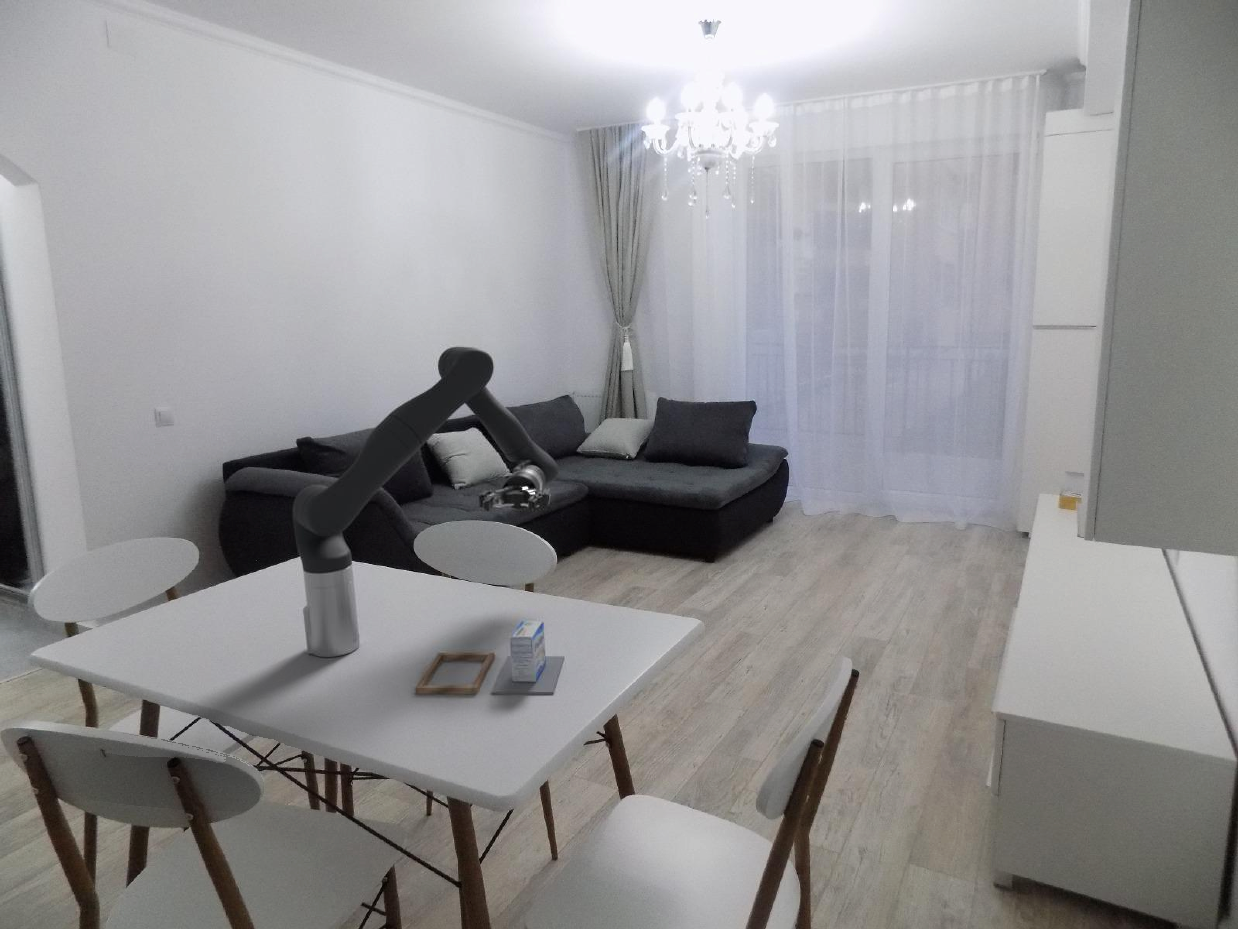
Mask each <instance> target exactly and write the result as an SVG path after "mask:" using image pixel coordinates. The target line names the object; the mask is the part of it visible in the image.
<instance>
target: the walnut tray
mask: <svg viewBox="0 0 1238 929" xmlns="http://www.w3.org/2000/svg"><path fill="white" fill-rule="evenodd" d="M495 653H496V652H438V653H437V654H436V656H435V658H433V660H432V661H431V663H430V665H429V666H428V668H427V670H425V672H424V673H423V675H422V677H421V678H420V680H419V681H418V682H417V684H416V685H415V687H414V693H415V695H478V693H479V691H480V690H481V687H482V685H483V683H484V681H485V679H486V677H487V675H488V673H489V671H490V669H491V668H492V665H493V663H494V661H495V660H496V654H495ZM445 661H449V662H450V661H451V662H452V661H454V662H458V661H459V662H462V661H471V662H472V661H473V662H475V661H482V662H483V661H484V662H483V664H482V666H481V668H480V670H479V672H478V674H477V675H476V677H475V679H474V681H473V684H472V685H471V684H470V685H469V684H467V685H466V684H465V685H463V684H460V685H459V684H458V685H457V684H455V685H453V684H452V685H451V684H448V685H447V684H446V685H445V684H443V685H441V684H440V685H439V684H438V685H437V684H435V685H432V684H431V685H429V683H430V682H431V679H432V678H433V676H434V675H435V673H436V672H437V670H438V669H439V666H441V664H442V662H445Z"/></svg>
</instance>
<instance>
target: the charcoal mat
mask: <svg viewBox="0 0 1238 929" xmlns="http://www.w3.org/2000/svg"><path fill="white" fill-rule="evenodd" d="M545 656H546V664H545V666H544V668H543V670H542V672H541V673H540V675H539V677H538V679H537V681H536V682H515V681H513V678H512V665H511V655H509V656H507V657H506V659H505V662H504V663H503V665H502V668H501V670H500V672H499V674H498V676H497V678H496V680H495V683H494V685H493V687H492V689H491V691H490V694H491V695H554V694H555V690H556V687H557V685H558V681H559V677H560V674H561V671H562V668H563V663H564V660H565V656H563V655H561V656H560V655H556V656H555V655H554V656H553V655H552V656H550V655H545Z"/></svg>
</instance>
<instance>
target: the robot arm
mask: <svg viewBox="0 0 1238 929" xmlns="http://www.w3.org/2000/svg"><path fill="white" fill-rule="evenodd" d="M494 368H495V366H494V360H493V358H492V356H491V355H490V354H489V353H488V352H487V351H486V350H484V349H481V348H478V347H473V346H471V347H470V346H452V347H449V348H447V349H445V350H444V351H443V352H442V353H441V354H440V356H439V359H438V362H437V369H438V374H439V377H440V379H439V381H437V382H436V383H435V384H434V385H433V386H432V387H430V388H429V389H427V390H425V391H424V392H422V393H419V395H416V396H415V397H413V398H411V399H409V400H408V401H405V402H403V404H401V405H398V407H397V408H395V409H393V410H392V411H391V412H390V413H389V414H388V415H387V416H386V417H384V418H383V420H382V421H381V422H380V423H378V424H377V425H376V427H375V428H373V430H372V431H371V432H370V434H369V435H368V436H367V438H366V440H365V442H364V444H363V446H362V448H361V449H360V452H359V454H358V456H357V458H356V459H355V460H354V462H353V464H352V465H350V467H349V468H348V470H346V471H345V472H344V473H343V474H342V475H340V477H338V479H337V480H335V481H334V482H333V483H332V484H331V485H329V486H326V485H322V484H312V485H309V486H307V487H305V488H303V489H301V490H300V491H299V492H298V493H297V495H296V497H295V499H294V501H293V505H292V521H293V522H292V523H293V529H294V537H295V543H296V548H297V549H296V550H297V552H298V556H299V557H300V560H301V563H302V572H303V580H304V581H303V582H304V590H305V597H306V598H305V601H306V605H305V606H304V607H303V609H302V612H303V614H302V615H303V624H304V632H305V641H306V650H307V654H308V655H314V656H316V657H322V658H329V657H330V658H332V657H338V656H344V655H346V654H350V653H352V652H354V651H356V650H357V649H359V647H360V633H359V622H358V611H357V600H356V599H357V598H356V590H355V580H354V571H353V570H354V569H353V559H352V558H353V557H352V553H351V549H350V548H349V546H348V544H347V543H346V541H345V538H344V534H343V531H345V530H346V529H347V528H348V527H349V526H350V525H351V524H352V523H353V522H354V520H355V519H356V518H357V517H358V515H359V514H360V513H361V511H362V510H363V509H364V507H366V506H367V504H368V503H369V501H370V500H371V499H372V498H373V497H374V495H375V494H376V493H377V492H378V491H379V490H380V489H381V488H382V487H383V485H385V484H386V482H388V481H389V480H390V479H391V478H392V477H393V476H394V475H395V474H396V473H397V471H399V469H401V468H402V466H403V465H405V464H406V463H407V462H408V461H409V460H410V459H411V458H413V456H414V455H415V454H416V453H417V452H418V451H419V449H421V448H422V447H423V446H424V444H425V443H426V442H428V440H429V439H430V438H432V436H433V435H434V434H435V433H436V432H437V431H438V430H439V429H440V428H441V427H442V426H443V425H444V424H445V423H446V421H447V420H449V418H450V417H451V416H453V414H454V413H456V412H457V410H459V409H460V408H461V407H462V406H463V405H464V404H465V405H466V406H467V408H469V410H470V411H471V412H472V414H474V415H475V417H477V420H479V421H480V423H481V424H482V425H483V426H484V428H485V429H486V430H487V432H488V433H489V435H491V437H492V439H493V440H494V441H495V443H496V444H497V446H498V448H499V449H500V450H501V452H502V453H503V454H504V456H505V457H506V459H507V460H508V461H510V462H514V463H516V462H521V463H520V464H518V465H517V466H515V467H514V468H513V470H512V474H511V475H510V477H509V478H507V480H506V481H505V482H504V483H503V485H502V489H497V490H495V491H494V492H493V490H492V489H490V488H487V489H484V490H483V491H482V492H481V493H479V494H478V503H479V504H478V506H479V507H480V508H483V510H485V512H491V510H493V509H494V508H495V507H496V508H500V509H501V508H505V507H510V508H511V509H514V510H519V511H523V510H527V509H528V512H531V511H534V509H537V508H539V507H540V505H542V506H543V507H549V506H550V503H551V501H552V500H551V488H550V487H546V488H544V487H545V486H546V485H548V484H550V483H553V482H554V481H555V480H556V479H557V478H558V477H559V466H558V465H557V463H556V462H557V461H555V459H553V457H552V456H551V455H549V453H547V452H546V451H545V450H543V449H542V448H541V447H539V446H538V445H537V444H536V443H535V441H533V440H532V438H531V437H530V435H529V434H528V433H527V431H526V430H525V428H524V426H523V425H522V424H521V422H520V420H519V419H517V417H516V416H515V415H514V414H513V412H511V411H510V410H509V409H508V408H507V407H505V405H503V404H502V403H501V401H500V400H498V399H497V398H496V396H494V395H493V394H492V392H491V391H490V390H489V389H488V387H487V386H488V383H489V382H490V381H491V379H492V377H493V374H494ZM522 461H524V462H522Z"/></svg>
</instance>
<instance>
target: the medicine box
mask: <svg viewBox="0 0 1238 929" xmlns="http://www.w3.org/2000/svg"><path fill="white" fill-rule="evenodd" d="M545 640H546V639H545V627H544V621H537V620H523V621H521V622H520V623H519V624H518V626H517V628H516V629H515V630H514V631H513V633H512V635H511V636H510V637H509V649H510V652H509V653H510V656H511V665H512V678H513V681H515V682H536V681H537V679H538V677H539V675H540V673H541V672H542V670H543V668H544V666H545V664H546V656H547V655H546V642H545Z"/></svg>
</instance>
